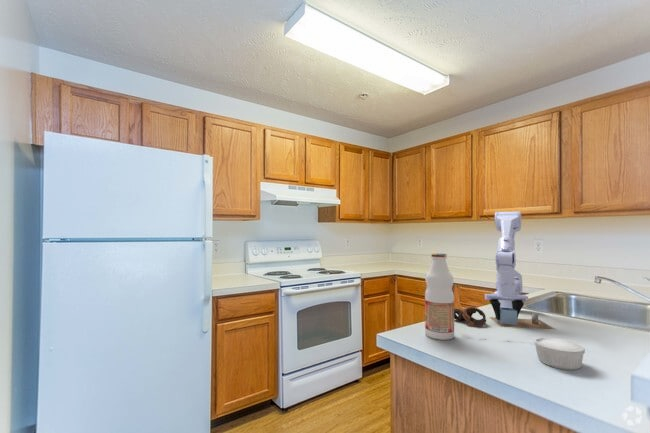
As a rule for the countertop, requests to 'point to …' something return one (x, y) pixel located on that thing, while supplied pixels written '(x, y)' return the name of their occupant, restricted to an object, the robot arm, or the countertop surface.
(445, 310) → the fruit juice
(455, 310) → the brown curled shape
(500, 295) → the robot arm
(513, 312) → the collar
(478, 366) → the countertop surface
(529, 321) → the stub board
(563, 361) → the ramekin
